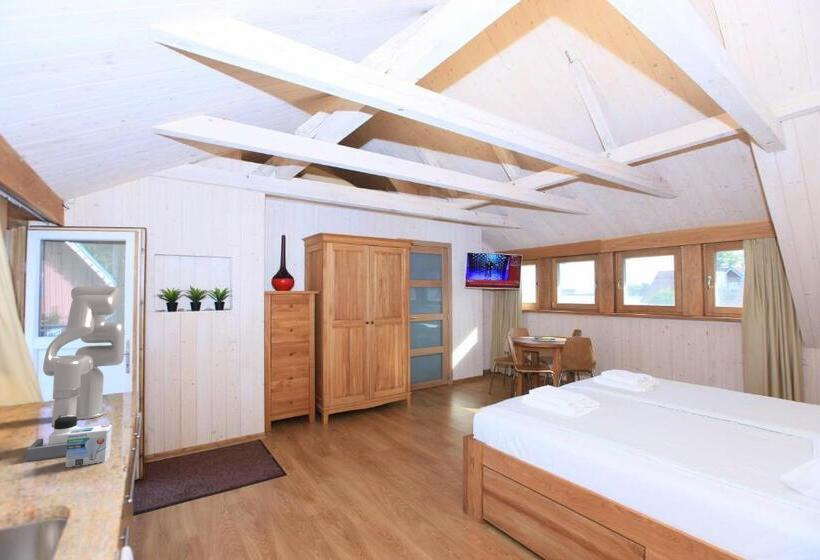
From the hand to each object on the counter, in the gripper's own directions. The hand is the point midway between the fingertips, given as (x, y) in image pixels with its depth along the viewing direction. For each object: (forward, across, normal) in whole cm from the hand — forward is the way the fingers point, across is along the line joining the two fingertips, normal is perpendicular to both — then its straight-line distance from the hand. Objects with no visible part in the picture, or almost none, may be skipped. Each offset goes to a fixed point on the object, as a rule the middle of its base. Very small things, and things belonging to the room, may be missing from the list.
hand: (64, 442), depth 141 cm
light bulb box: (0, +21, +12) cm, 24 cm away
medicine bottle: (+1, +7, +2) cm, 7 cm away
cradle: (+1, +8, 0) cm, 8 cm away
